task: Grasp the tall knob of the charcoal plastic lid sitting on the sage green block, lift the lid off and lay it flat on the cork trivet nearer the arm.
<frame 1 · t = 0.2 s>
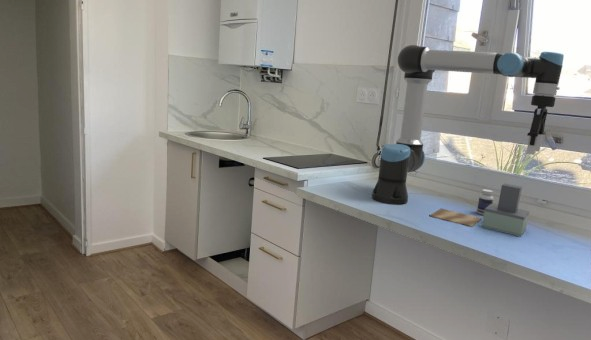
hand: (532, 152, 164), 28 cm above the worktop, fingers open, 13 cm apart
sage green block: (503, 228, 160), on the worktop
trivet: (455, 217, 169), on the worktop
lid: (506, 212, 159), point 6 cm above the worktop, touching sage green block
pill bottle: (483, 214, 178), on the worktop
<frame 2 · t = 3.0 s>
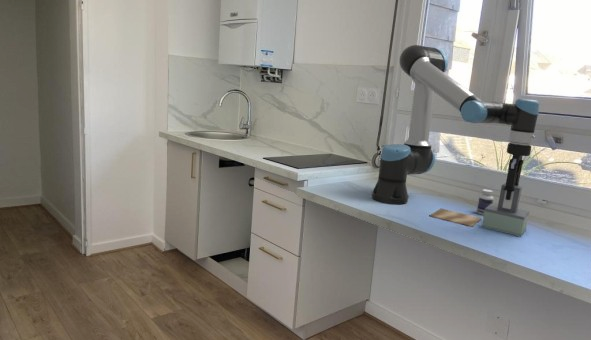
hand: (507, 206, 159), 8 cm above the worktop, fingers closed on lid, 4 cm apart
lid: (506, 212, 159), point 6 cm above the worktop, touching sage green block, gripper
everything else where it was.
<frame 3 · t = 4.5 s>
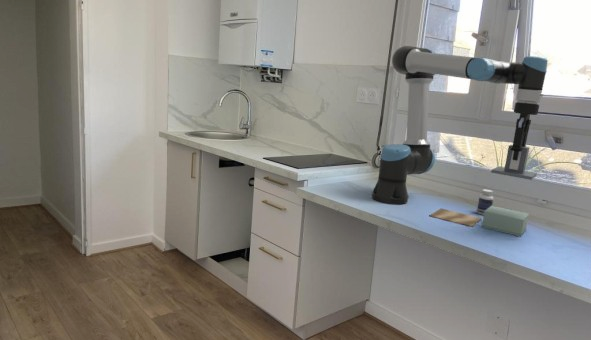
hand: (514, 168, 156), 23 cm above the worktop, fingers closed on lid, 4 cm apart
lid: (513, 174, 156), point 20 cm above the worktop, touching gripper
everything else where it was.
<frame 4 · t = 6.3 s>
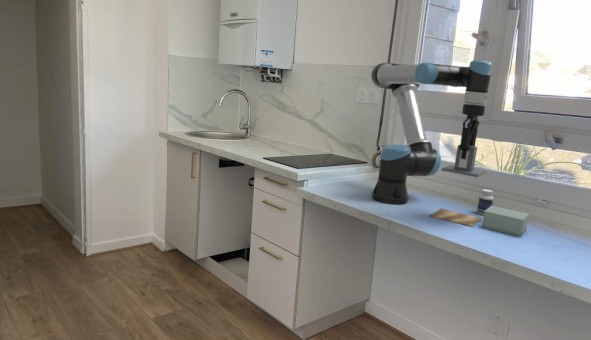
hand: (464, 166, 164), 20 cm above the worktop, fingers closed on lid, 4 cm apart
lid: (463, 172, 165), point 18 cm above the worktop, touching gripper
everything else where it was.
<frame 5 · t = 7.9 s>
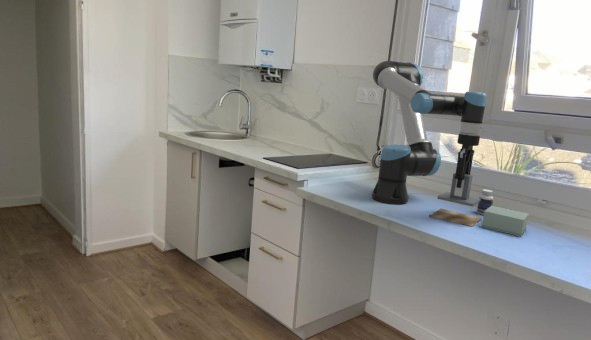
hand: (459, 194, 167), 9 cm above the worktop, fingers closed on lid, 4 cm apart
lid: (458, 200, 167), point 7 cm above the worktop, touching gripper
everything else where it was.
when the fingers open (4 cm above the worktop, at t = 9.4 s): lid drops 1 cm, resting on trivet.
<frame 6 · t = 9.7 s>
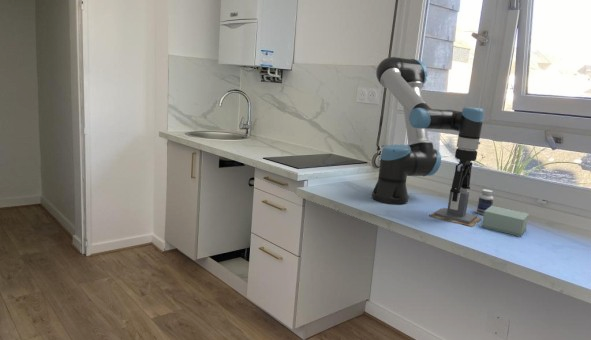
hand: (457, 206, 168), 4 cm above the worktop, fingers open, 9 cm apart
lid: (455, 216, 168), resting on trivet
everything else where it was.
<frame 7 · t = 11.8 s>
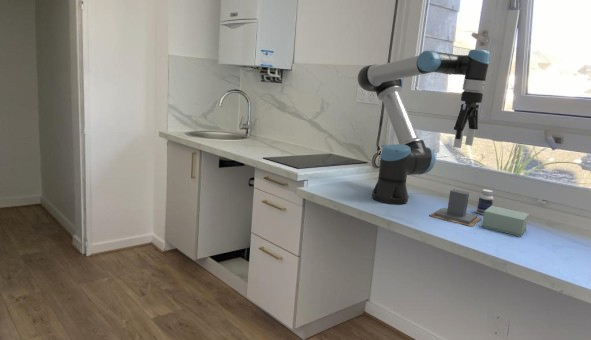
hand: (462, 146, 171), 27 cm above the worktop, fingers open, 13 cm apart
nothing on the worktop moved.
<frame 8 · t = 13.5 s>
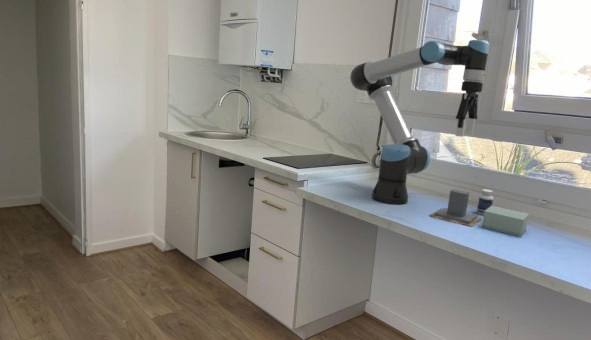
hand: (464, 135, 175), 31 cm above the worktop, fingers open, 13 cm apart
nothing on the worktop moved.
at the end: lid inside the target area on the trivet (0.0 cm from its centre), point 0.4 cm above the trivet's base; lid tilted 0°; the gripper is holding nothing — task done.
